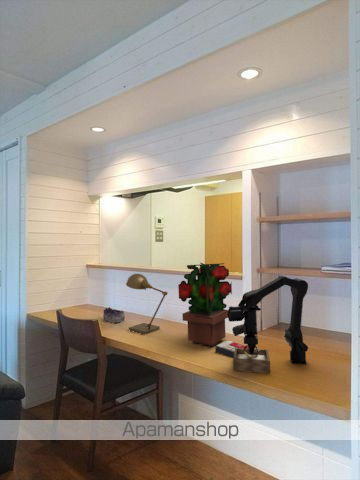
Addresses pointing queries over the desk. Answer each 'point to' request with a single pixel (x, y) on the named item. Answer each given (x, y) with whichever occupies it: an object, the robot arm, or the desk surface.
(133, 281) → the lamp
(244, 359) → the base
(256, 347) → the ring
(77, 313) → the desk surface
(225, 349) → the calculator
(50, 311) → the desk surface
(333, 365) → the desk surface
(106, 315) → the geode
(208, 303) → the potted plant
